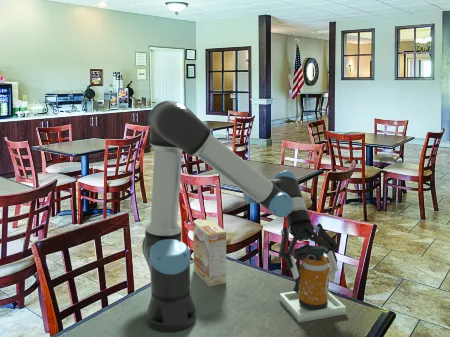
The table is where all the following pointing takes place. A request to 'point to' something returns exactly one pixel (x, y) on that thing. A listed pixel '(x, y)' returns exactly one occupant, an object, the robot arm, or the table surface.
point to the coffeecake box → (209, 252)
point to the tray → (304, 314)
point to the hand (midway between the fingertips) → (316, 274)
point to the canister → (312, 277)
